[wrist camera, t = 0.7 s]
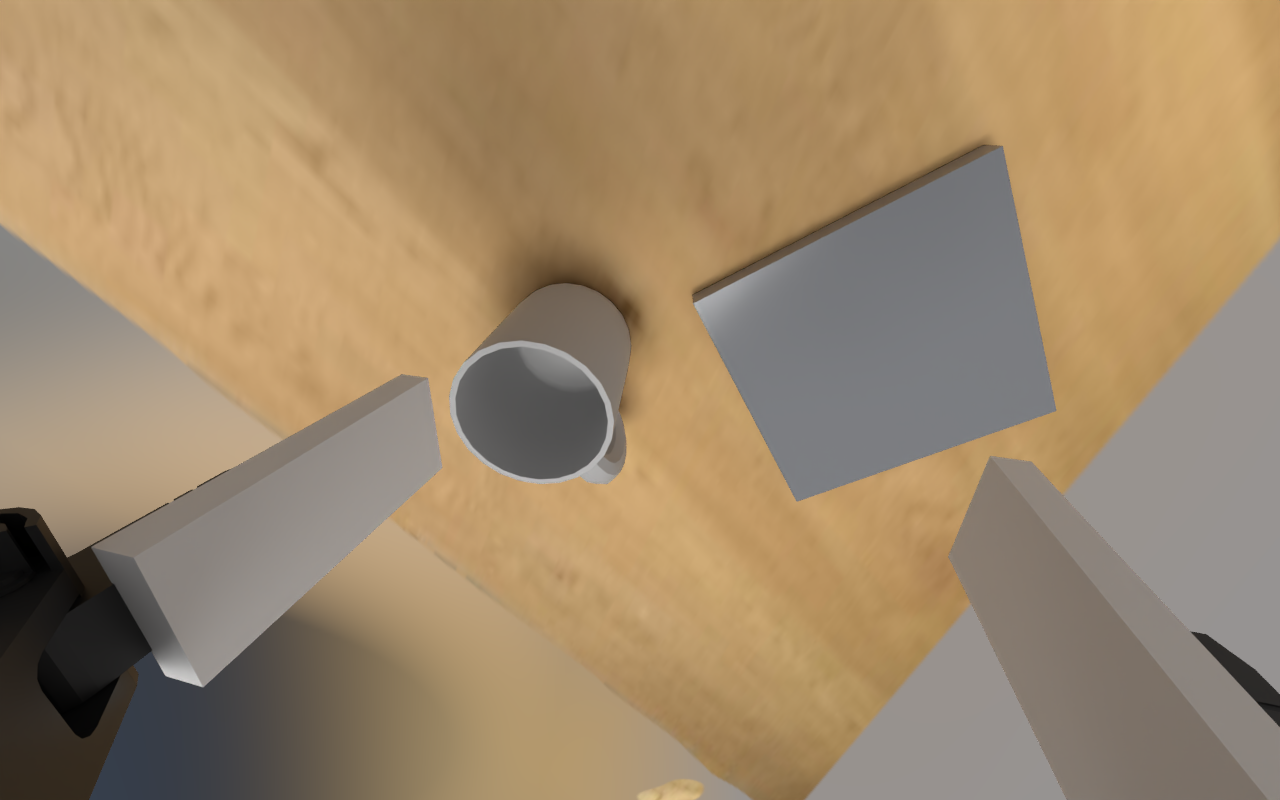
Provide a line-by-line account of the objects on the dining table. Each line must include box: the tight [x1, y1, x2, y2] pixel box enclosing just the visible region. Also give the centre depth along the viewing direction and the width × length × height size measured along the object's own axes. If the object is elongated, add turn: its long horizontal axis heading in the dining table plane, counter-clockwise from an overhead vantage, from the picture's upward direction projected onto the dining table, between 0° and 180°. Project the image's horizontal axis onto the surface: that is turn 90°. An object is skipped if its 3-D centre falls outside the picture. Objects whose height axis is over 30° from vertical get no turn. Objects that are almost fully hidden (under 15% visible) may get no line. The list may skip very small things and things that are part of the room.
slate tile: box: [692, 145, 1056, 501], centre depth 27 cm, size 15×15×2 cm
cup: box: [449, 283, 631, 484], centre depth 25 cm, size 7×10×9 cm
